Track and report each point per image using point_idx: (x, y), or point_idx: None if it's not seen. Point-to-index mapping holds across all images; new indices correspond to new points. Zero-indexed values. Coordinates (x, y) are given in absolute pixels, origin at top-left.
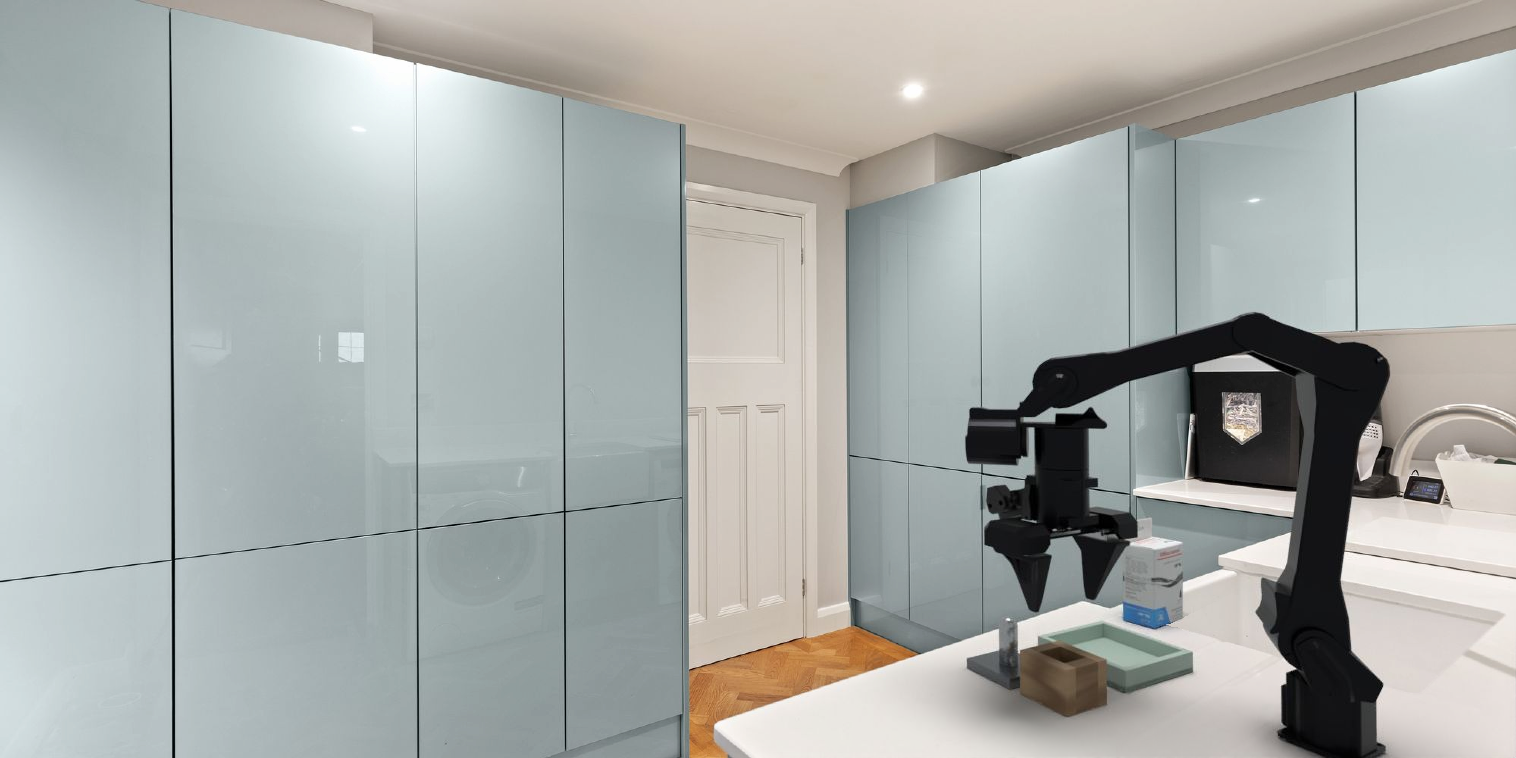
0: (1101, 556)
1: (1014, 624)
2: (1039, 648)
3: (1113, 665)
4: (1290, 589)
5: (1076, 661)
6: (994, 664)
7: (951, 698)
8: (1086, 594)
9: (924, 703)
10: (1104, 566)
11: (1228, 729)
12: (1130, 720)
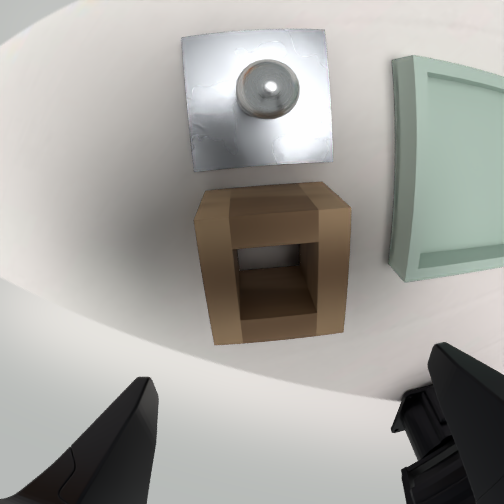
0: (492, 493)
1: (271, 117)
2: (254, 231)
3: (410, 256)
4: None
5: (274, 321)
6: (218, 91)
7: (69, 164)
8: (439, 353)
9: (25, 168)
10: (470, 477)
11: (387, 372)
12: None
